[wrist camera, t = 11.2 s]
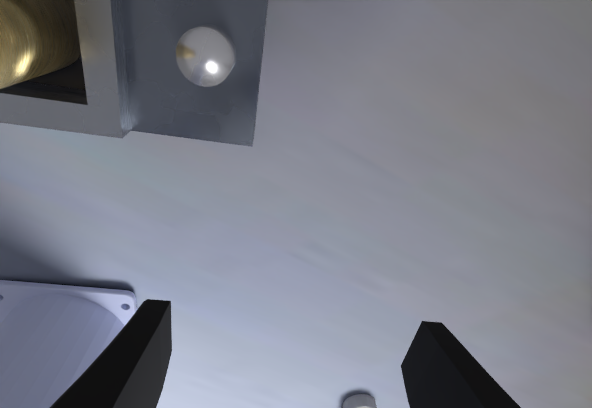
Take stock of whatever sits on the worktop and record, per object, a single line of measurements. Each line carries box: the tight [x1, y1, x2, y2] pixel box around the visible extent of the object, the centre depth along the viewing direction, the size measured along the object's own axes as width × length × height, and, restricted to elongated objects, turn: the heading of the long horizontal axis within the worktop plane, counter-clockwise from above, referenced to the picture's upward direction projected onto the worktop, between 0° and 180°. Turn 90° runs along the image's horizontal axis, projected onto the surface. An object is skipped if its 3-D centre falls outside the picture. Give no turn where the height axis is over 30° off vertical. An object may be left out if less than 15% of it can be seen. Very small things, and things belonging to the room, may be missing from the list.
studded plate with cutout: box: [0, 0, 268, 146], centre depth 13 cm, size 7×18×2 cm, turn 81°
